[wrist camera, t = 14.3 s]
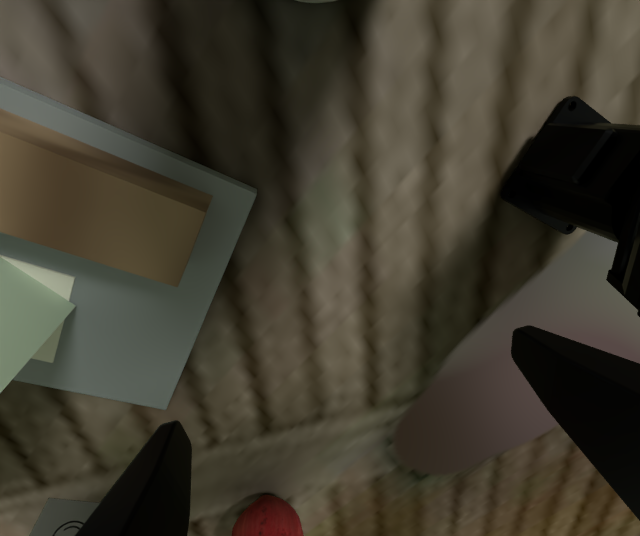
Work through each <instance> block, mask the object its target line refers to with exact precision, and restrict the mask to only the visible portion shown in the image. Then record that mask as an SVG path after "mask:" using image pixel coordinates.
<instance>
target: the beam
mask: <svg viewBox="0 0 640 536" xmlns="http://www.w3.org/2000/svg"><path fill="white" fill-rule="evenodd" d="M212 197H213V196H212V195H209V194H207V193H205V192H202V191H200V190H197V189H195V188H192V187H190V186H188V185H185V184H183V183H180V182H178V181H176V180H173V179H171V178H168V177H166V176H163V175H161V174H159V173H156V172H154V171H151V170H149V169H146V168H144V167H142V166H139V165H137V164H134V163H132V162H129V161H127V160H125V159H122V158H120V157H117V156H115V155H112V154H110V153H108V152H105V151H103V150H100V149H98V148H95V147H93V146H91V145H88V144H86V143H83V142H81V141H79V140H76V139H74V138H71V137H69V136H66V135H64V134H62V133H59V132H57V131H54V130H52V129H49V128H47V127H45V126H42V125H40V124H37V123H35V122H32V121H30V120H28V119H25V118H23V117H20V116H18V115H15V114H13V113H11V112H8V111H6V110H3V109H1V108H0V232H2V233H5V234H8V235H11V236H15V237H18V238H21V239H24V240H27V241H30V242H34V243H37V244H40V245H43V246H46V247H50V248H53V249H56V250H59V251H62V252H66V253H69V254H72V255H75V256H78V257H82V258H85V259H88V260H91V261H94V262H98V263H101V264H104V265H107V266H110V267H114V268H117V269H120V270H123V271H126V272H130V273H133V274H136V275H139V276H142V277H146V278H149V279H152V280H155V281H158V282H162V283H165V284H168V285H171V286H174V287H178V285H179V283H180V281H181V278H182V276H183V273H184V271H185V268H186V266H187V263H188V261H189V258H190V256H191V253H192V250H193V248H194V245H195V242H196V240H197V237H198V234H199V232H200V229H201V226H202V224H203V221H204V219H205V216H206V213H207V211H208V208H209V205H210V203H211V200H212Z"/></svg>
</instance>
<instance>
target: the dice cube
mask: <svg viewBox="0 0 640 536" xmlns="http://www.w3.org/2000/svg"><path fill="white" fill-rule="evenodd" d="M98 505H99V503H94V502H85V501H75V500H65V499H55V498H49V499H48V501H47V503H46V505H45V507H44V508H43V510H42V512H41V514H40V516H39V518H38V520H37V522H36V524H35V526H34V528H33V530H32V532H31V533H30V535H29V536H75V534H76V533H77V532H78V530H79V529H80V528H81V527H82V525H83V524H84V523H85V521H86V520H87V519H88V518H89V516H90V515H91V514H92V512H93V511H94V510H95V509H96V507H97V506H98Z"/></svg>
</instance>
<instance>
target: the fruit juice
mask: <svg viewBox="0 0 640 536" xmlns="http://www.w3.org/2000/svg"><path fill="white" fill-rule="evenodd" d="M296 1H300V2H306V3H326V2H332V1H337V0H296Z"/></svg>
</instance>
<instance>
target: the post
mask: <svg viewBox="0 0 640 536" xmlns="http://www.w3.org/2000/svg"><path fill="white" fill-rule="evenodd" d="M75 307H76V305H74V304H73V303H71V302H69V301H68V300H66V299H65V298H63V297H62V296H60V295H59V294H57V293H56V292H54V291H52V290H51V289H49V288H48V287H46V286H45V285H43V284H42V283H40V282H39V281H37V280H35V279H34V278H32V277H31V276H29V275H28V274H26V273H25V272H23V271H22V270H20V269H18V268H17V267H15V266H14V265H12V264H11V263H9V262H8V261H6V260H5V259H3V258H1V257H0V393H1V392H2V391H3V390H4V388H5V387H6V386H7V385H8V384H9V383H10V381H11V380H12V379H13V378H14V377H15V376H16V375H17V373H18V372H19V371H20V370H21V369H22V368H23V366H24V365H25V364H26V363H27V362H28V361H29V360H30V358H31V357H32V356H33V355H34V354H35V353H36V351H37V350H38V349H39V348H40V347H41V346H42V345H43V343H44V342H45V341H46V340H47V339H48V338H49V337H50V335H51V334H52V333H53V332H54V331H55V330H56V328H57V327H58V326H59V325H60V324H61V323H62V322H63V320H64V319H65V318H66V317H67V316H68V315H69V313H70V312H71V311H72V310H73V309H74V308H75Z"/></svg>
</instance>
